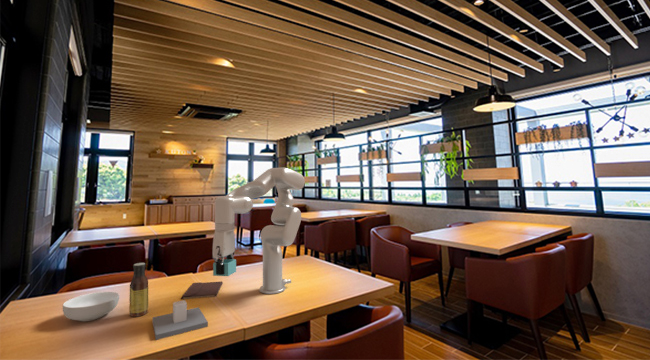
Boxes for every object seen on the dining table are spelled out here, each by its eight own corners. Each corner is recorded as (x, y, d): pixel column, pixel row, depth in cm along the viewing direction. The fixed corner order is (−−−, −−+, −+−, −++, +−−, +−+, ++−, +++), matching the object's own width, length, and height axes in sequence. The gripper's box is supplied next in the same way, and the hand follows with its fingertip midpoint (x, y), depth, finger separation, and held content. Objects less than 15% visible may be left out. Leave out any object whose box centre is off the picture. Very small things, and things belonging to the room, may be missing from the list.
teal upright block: (221, 271, 117) (221, 258, 117) (236, 271, 116) (236, 259, 116) (213, 275, 111) (213, 262, 111) (228, 276, 110) (228, 263, 110)
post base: (198, 311, 113) (199, 292, 114) (207, 326, 100) (208, 304, 101) (152, 321, 104) (152, 301, 105) (155, 340, 91) (156, 316, 91)
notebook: (222, 284, 149) (222, 280, 149) (216, 297, 130) (216, 293, 130) (192, 286, 146) (192, 282, 146) (181, 300, 127) (181, 296, 127)
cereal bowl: (71, 331, 97) (72, 310, 98) (55, 320, 106) (55, 301, 106) (126, 313, 112) (127, 295, 112) (108, 305, 120) (108, 288, 121)
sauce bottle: (135, 311, 114) (136, 261, 115) (151, 310, 114) (152, 261, 115) (125, 318, 107) (126, 265, 108) (142, 317, 108) (143, 265, 109)
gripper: (227, 224, 123) (227, 265, 123) (203, 230, 106) (203, 278, 105) (243, 224, 122) (243, 266, 121) (221, 230, 105) (222, 278, 104)
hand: (224, 271), depth 113 cm, fingers closed on teal upright block, 6 cm apart
